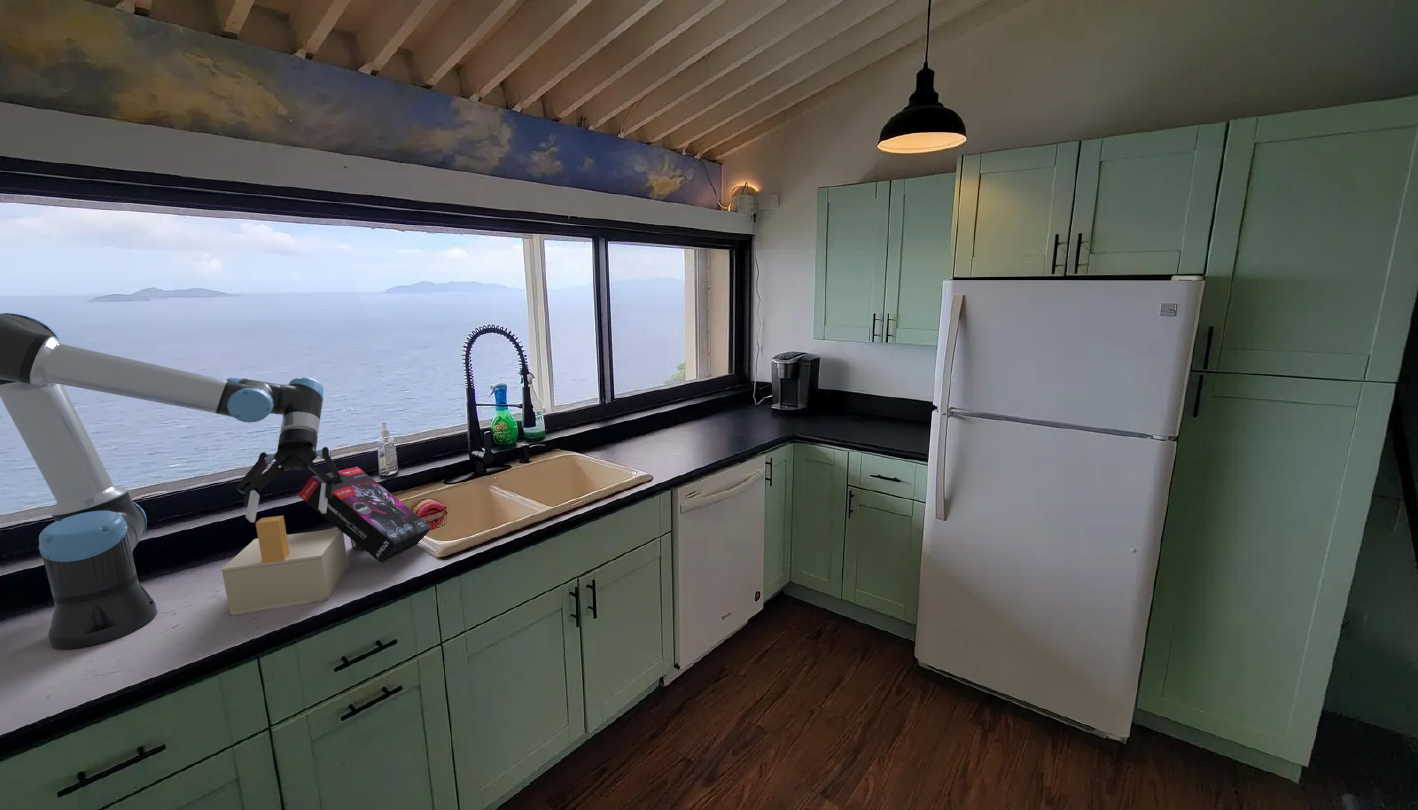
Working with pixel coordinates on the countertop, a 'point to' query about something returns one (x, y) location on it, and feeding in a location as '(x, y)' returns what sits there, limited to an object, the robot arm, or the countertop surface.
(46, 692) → the countertop surface
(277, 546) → the carton flap
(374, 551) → the graphics card box
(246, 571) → the carton
